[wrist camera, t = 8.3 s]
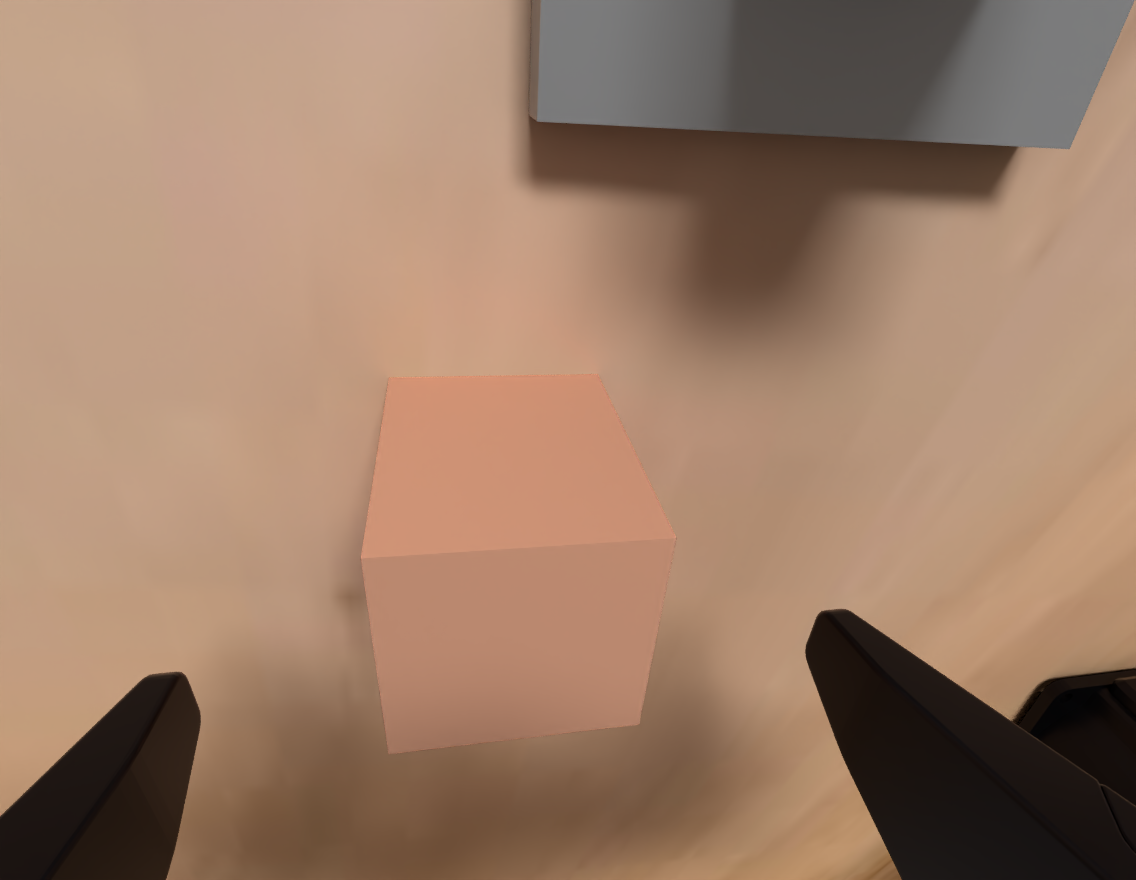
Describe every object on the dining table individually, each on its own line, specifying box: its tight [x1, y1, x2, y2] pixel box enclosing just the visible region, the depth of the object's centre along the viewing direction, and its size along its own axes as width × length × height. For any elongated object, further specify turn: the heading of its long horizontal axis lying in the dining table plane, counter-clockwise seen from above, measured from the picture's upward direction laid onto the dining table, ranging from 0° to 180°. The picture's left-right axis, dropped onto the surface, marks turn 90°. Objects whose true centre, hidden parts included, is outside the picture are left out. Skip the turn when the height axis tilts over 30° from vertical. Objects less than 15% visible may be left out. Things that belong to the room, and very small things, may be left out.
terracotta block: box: [361, 374, 677, 754], centre depth 11 cm, size 4×4×5 cm
